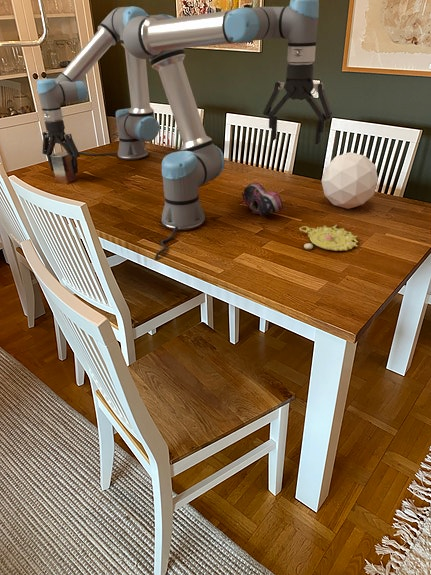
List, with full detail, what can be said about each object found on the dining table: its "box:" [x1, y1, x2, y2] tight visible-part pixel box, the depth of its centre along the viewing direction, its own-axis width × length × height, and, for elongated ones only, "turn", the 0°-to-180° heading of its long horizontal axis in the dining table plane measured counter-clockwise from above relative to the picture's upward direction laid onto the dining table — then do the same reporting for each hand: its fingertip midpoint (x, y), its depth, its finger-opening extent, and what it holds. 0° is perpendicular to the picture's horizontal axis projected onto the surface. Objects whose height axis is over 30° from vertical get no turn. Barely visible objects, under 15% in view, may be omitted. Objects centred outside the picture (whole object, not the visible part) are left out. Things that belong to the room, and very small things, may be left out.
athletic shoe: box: [238, 182, 284, 217], centre depth 160 cm, size 11×22×12 cm
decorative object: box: [299, 224, 359, 252], centre depth 141 cm, size 21×2×20 cm
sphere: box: [320, 151, 379, 210], centre depth 160 cm, size 19×20×20 cm
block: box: [51, 151, 78, 185], centre depth 194 cm, size 6×6×12 cm
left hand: (64, 171), depth 195 cm, fingers open, 11 cm apart
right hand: (295, 141), depth 134 cm, fingers open, 13 cm apart
